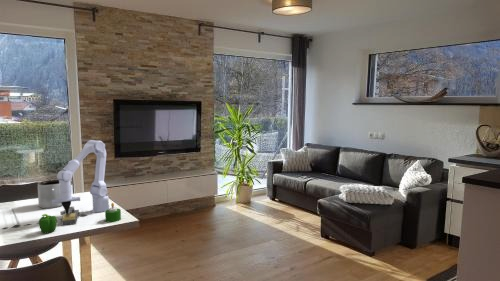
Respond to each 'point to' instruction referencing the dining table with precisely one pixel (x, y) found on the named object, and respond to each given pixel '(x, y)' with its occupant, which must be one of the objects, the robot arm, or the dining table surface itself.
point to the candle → (113, 214)
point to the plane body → (69, 222)
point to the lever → (68, 211)
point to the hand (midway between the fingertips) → (67, 214)
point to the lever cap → (69, 216)
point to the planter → (48, 193)
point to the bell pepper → (47, 223)
